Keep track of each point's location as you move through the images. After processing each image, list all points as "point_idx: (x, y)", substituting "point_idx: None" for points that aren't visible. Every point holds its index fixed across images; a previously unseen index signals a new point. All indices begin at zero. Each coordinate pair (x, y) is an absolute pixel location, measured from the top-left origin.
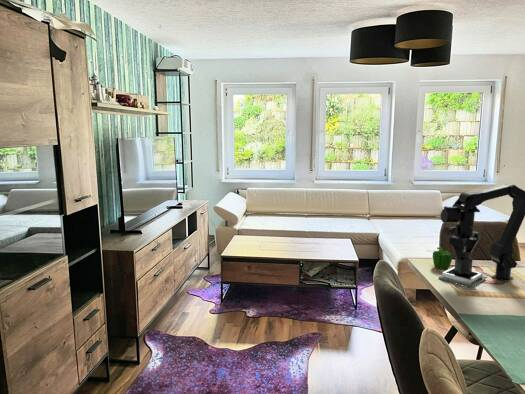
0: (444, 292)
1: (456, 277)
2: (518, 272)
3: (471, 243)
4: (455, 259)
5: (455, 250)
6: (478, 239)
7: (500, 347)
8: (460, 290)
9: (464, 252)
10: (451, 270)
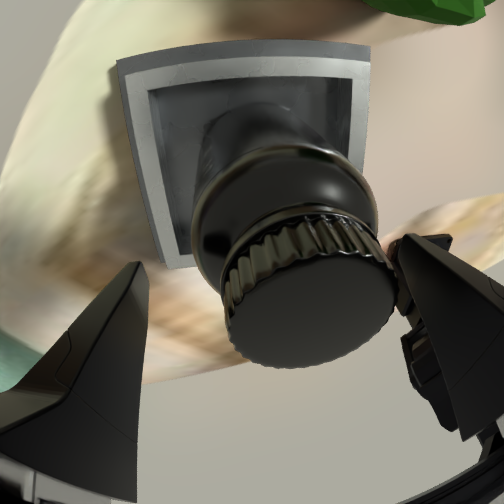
0: (9, 217)
1: (147, 183)
2: (491, 262)
3: (473, 379)
4: (220, 169)
5: (54, 354)
6: (487, 440)
7: (3, 383)
8: (87, 240)
9: (238, 348)
10: (262, 76)
